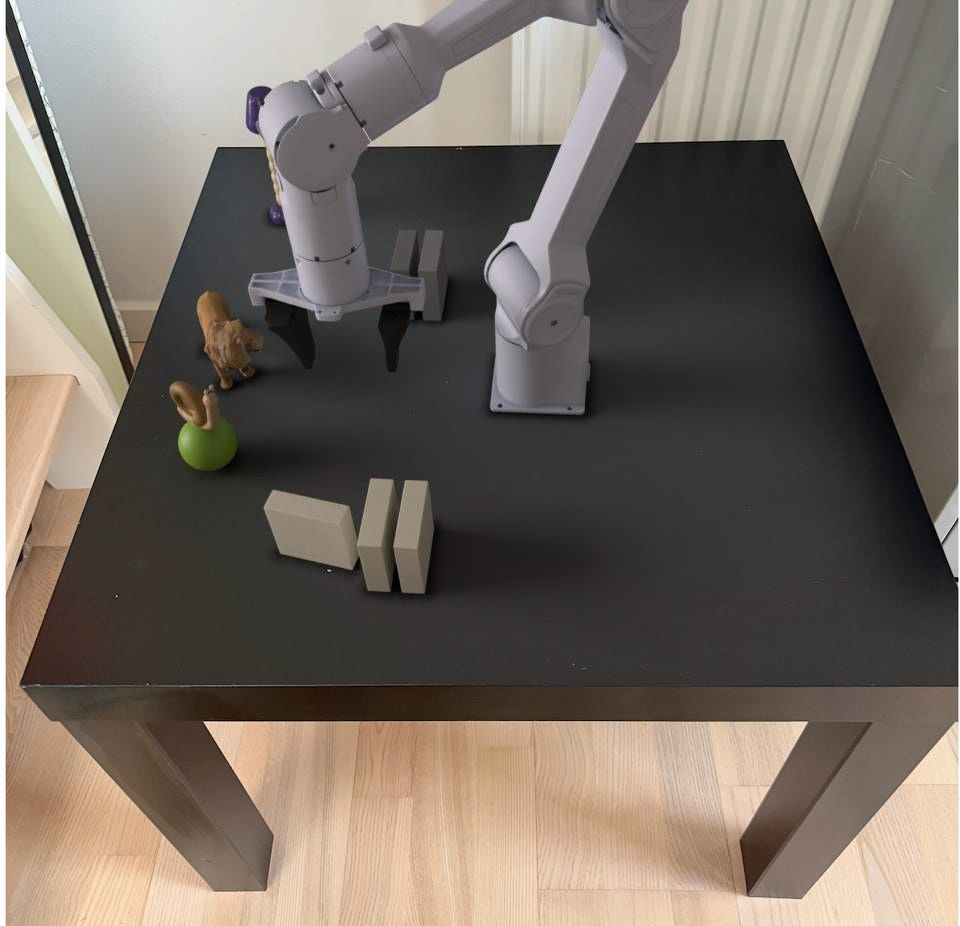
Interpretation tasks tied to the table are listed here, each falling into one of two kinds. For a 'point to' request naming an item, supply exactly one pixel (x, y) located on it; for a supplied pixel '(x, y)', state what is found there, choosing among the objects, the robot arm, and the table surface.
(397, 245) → the grey square slab
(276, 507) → the beige square slab
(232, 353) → the lion figurine
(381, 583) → the beige square block
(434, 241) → the gray square slab
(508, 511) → the table surface
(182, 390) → the snail figurine
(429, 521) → the beige square block
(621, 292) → the table surface
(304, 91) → the robot arm
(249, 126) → the toy lamp
